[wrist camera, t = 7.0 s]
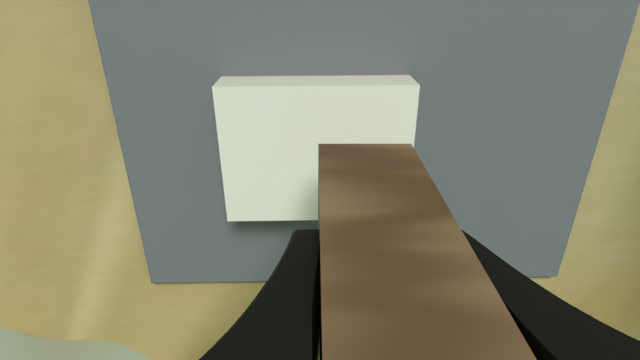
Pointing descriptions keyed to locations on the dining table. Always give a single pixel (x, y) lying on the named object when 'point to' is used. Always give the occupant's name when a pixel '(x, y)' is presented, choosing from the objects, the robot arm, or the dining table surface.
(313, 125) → the tile
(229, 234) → the mat
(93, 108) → the dining table surface
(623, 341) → the robot arm
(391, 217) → the block
